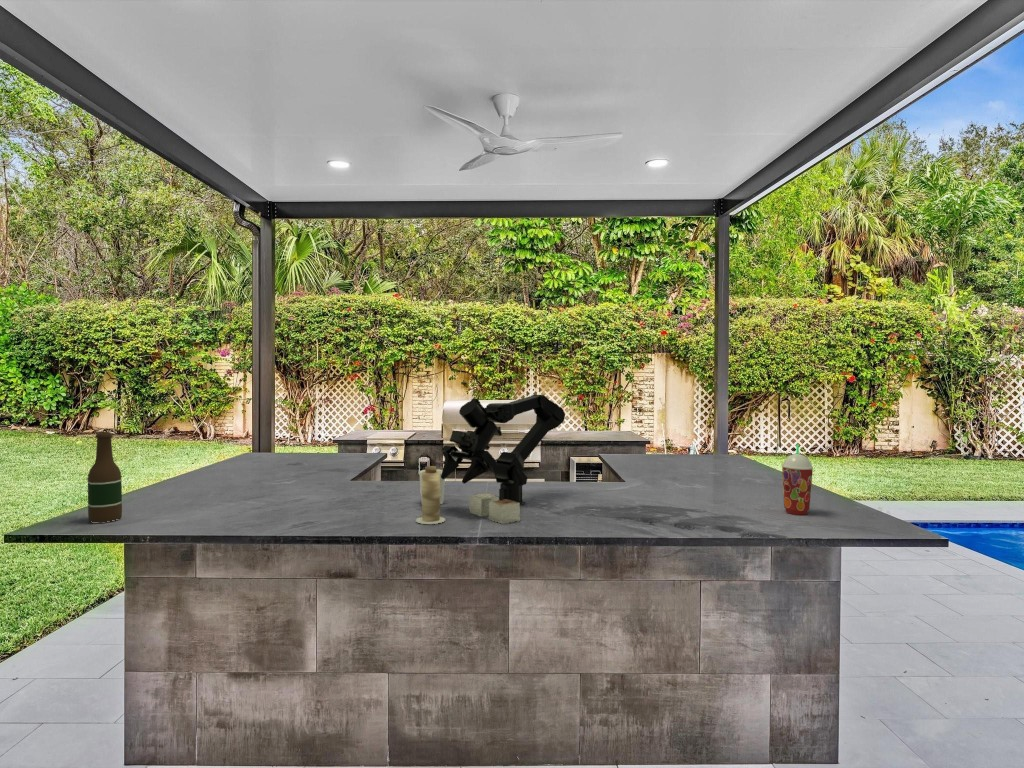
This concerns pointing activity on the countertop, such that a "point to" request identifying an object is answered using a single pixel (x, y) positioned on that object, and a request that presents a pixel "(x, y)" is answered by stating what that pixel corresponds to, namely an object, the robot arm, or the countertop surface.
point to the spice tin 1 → (481, 503)
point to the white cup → (442, 484)
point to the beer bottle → (104, 483)
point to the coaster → (430, 522)
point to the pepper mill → (430, 494)
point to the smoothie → (797, 483)
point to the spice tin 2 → (504, 511)
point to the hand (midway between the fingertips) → (452, 480)
